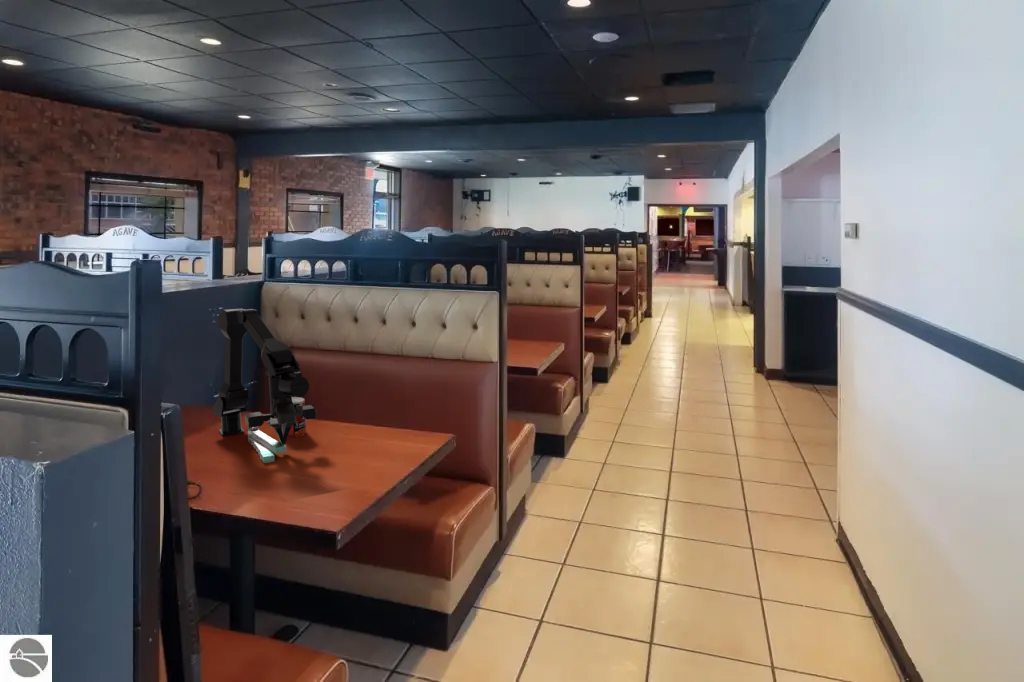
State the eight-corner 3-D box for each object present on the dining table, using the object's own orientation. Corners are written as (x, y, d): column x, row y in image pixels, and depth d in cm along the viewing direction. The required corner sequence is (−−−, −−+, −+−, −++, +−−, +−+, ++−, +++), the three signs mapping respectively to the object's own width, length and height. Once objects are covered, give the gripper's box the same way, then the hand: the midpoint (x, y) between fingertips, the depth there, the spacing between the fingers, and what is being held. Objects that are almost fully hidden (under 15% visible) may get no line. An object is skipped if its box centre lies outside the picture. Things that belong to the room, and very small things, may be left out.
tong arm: (246, 435, 193) (245, 427, 193) (257, 433, 195) (256, 425, 195) (275, 454, 176) (275, 445, 176) (287, 451, 178) (286, 443, 178)
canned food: (298, 438, 197) (296, 403, 195) (274, 436, 198) (272, 402, 197) (310, 431, 204) (309, 397, 202) (288, 429, 206) (286, 396, 204)
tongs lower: (247, 441, 194) (247, 435, 193) (258, 439, 195) (258, 433, 195) (263, 463, 175) (262, 457, 175) (275, 461, 177) (274, 455, 176)
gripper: (250, 402, 170) (254, 458, 172) (321, 393, 180) (323, 446, 182) (243, 393, 179) (246, 447, 182) (310, 385, 189) (313, 436, 191)
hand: (283, 444), depth 184 cm, fingers closed
